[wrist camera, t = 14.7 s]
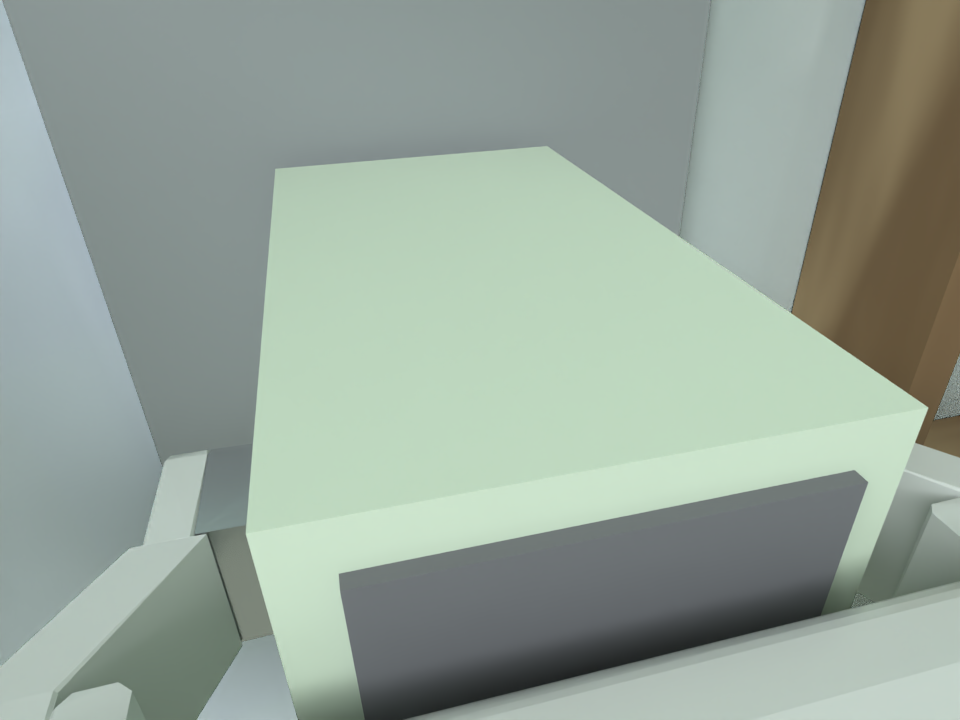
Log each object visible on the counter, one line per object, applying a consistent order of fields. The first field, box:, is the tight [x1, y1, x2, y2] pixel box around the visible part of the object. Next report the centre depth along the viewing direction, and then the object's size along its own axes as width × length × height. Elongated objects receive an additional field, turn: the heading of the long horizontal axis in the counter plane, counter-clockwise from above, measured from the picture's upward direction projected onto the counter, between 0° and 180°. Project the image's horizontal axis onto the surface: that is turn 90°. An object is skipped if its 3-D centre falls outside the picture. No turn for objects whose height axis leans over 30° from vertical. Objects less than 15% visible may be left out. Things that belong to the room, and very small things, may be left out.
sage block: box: [246, 146, 928, 720], centre depth 10 cm, size 5×6×9 cm
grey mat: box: [2, 0, 711, 467], centre depth 14 cm, size 12×14×1 cm
